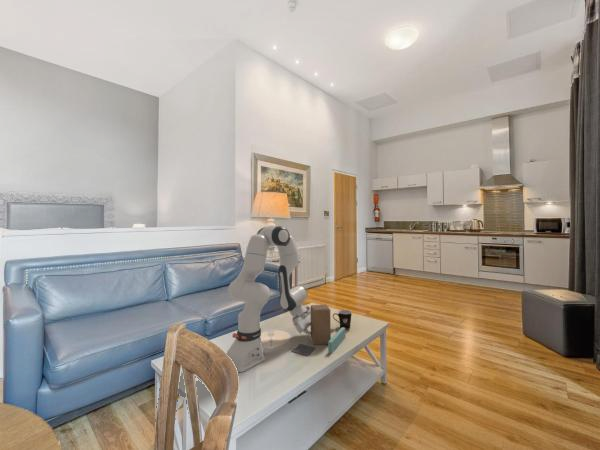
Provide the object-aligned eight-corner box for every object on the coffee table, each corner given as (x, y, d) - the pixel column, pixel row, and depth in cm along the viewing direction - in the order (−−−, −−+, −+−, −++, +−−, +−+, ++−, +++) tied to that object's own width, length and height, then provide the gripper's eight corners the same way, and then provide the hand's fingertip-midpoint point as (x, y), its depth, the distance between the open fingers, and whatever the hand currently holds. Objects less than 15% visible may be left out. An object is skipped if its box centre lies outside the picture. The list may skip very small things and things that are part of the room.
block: (331, 344, 156) (330, 309, 156) (313, 345, 155) (313, 310, 154) (326, 336, 166) (326, 303, 166) (310, 338, 165) (310, 304, 164)
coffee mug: (353, 326, 182) (353, 311, 182) (348, 330, 175) (348, 315, 175) (338, 322, 189) (337, 308, 189) (332, 326, 182) (332, 311, 182)
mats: (308, 356, 143) (308, 355, 143) (291, 351, 147) (291, 351, 147) (334, 330, 176) (334, 329, 176) (320, 327, 181) (320, 326, 181)
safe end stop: (331, 353, 145) (331, 342, 145) (328, 352, 146) (328, 341, 146) (345, 337, 165) (345, 327, 164) (342, 337, 165) (342, 327, 165)
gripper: (294, 315, 156) (310, 336, 152) (310, 305, 174) (324, 323, 170) (287, 322, 158) (303, 342, 154) (303, 311, 176) (318, 329, 172)
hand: (314, 332), depth 162 cm, fingers open, 8 cm apart
